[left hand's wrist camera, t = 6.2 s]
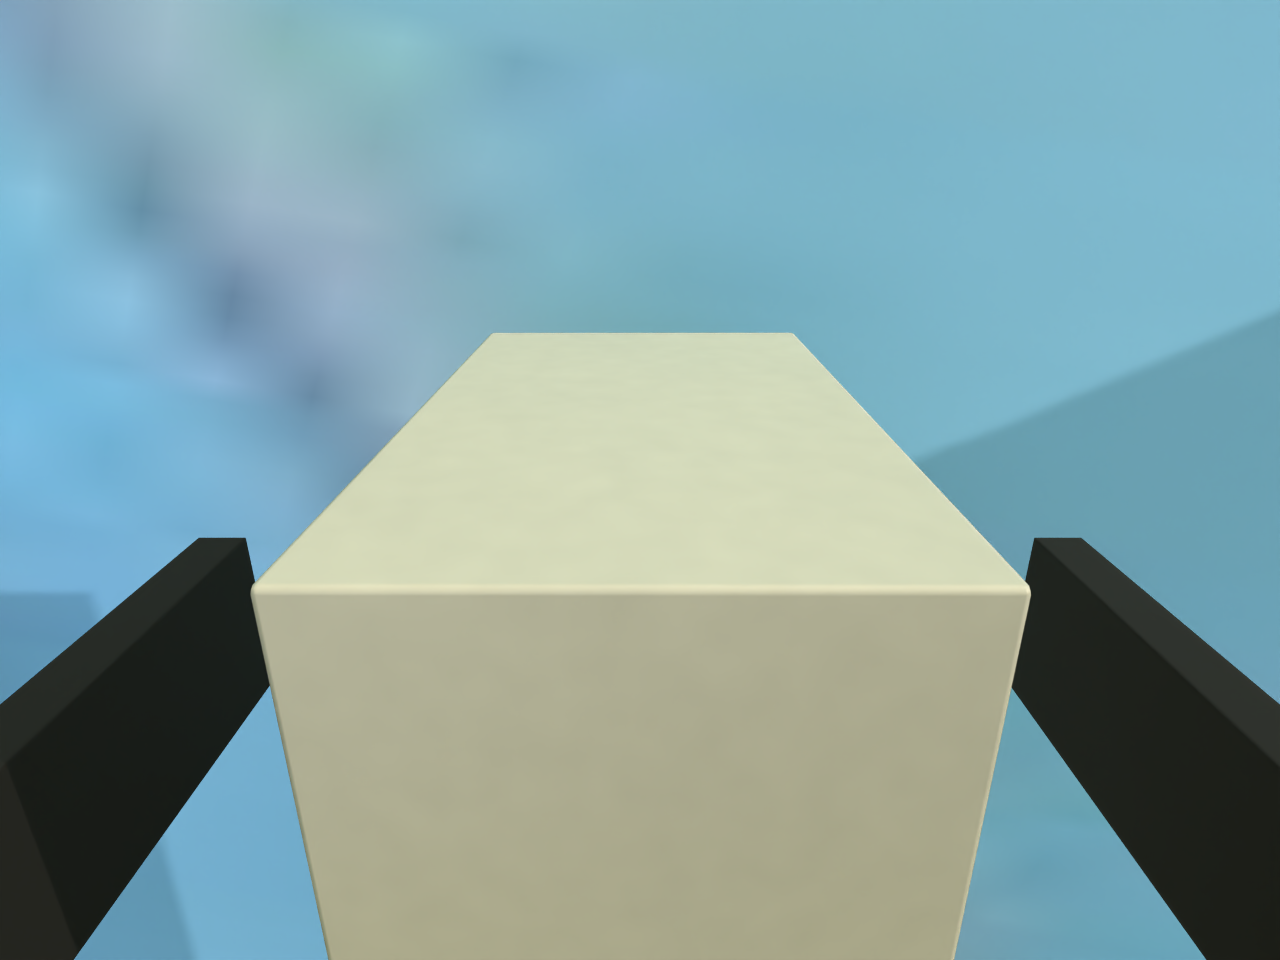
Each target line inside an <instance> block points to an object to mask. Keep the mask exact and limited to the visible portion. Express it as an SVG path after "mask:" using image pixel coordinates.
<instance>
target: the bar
mask: <svg viewBox="0 0 1280 960" xmlns="http://www.w3.org/2000/svg"><path fill="white" fill-rule="evenodd" d="M1030 597H1031V591H1030V588H1029V585H1028V584H1027V583H1026V582H1025V581H1024V580H1023V579H1022V578H1021V577H1020V576H1019V575H1018V573H1017V572H1016V571H1015V570H1014V569H1013V568H1012V567H1011V566H1010V565H1009V564H1008V563H1007V562H1006V561H1005V560H1004V559H1003V557H1002V556H1001V555H1000V554H999V553H998V552H997V551H996V550H995V549H994V548H993V547H992V546H991V545H990V544H989V542H988V541H987V540H986V539H985V538H984V537H983V536H982V535H981V534H980V533H979V532H978V531H977V530H976V529H975V528H974V526H973V525H972V524H971V523H970V522H969V521H968V520H967V519H966V518H965V517H964V516H963V515H962V514H961V513H960V511H959V510H958V509H957V508H956V507H955V506H954V505H953V504H952V503H951V502H950V501H949V500H948V499H947V498H946V497H945V495H944V494H943V493H942V492H941V491H940V490H939V489H938V488H937V487H936V486H935V485H934V484H933V483H932V482H931V481H930V479H929V478H928V477H927V476H926V475H925V474H924V473H923V472H922V471H921V470H920V469H919V468H918V467H917V466H916V464H915V463H914V462H913V461H912V460H911V459H910V458H909V457H908V456H907V455H906V454H905V453H904V452H903V451H902V450H901V448H900V447H899V446H898V445H897V444H896V443H895V442H894V441H893V440H892V439H891V438H890V437H889V436H888V435H887V433H886V432H885V431H884V430H883V429H882V428H881V427H880V426H879V425H878V424H877V423H876V422H875V421H874V420H873V419H872V417H871V416H870V415H869V414H868V413H867V412H866V411H865V410H864V409H863V408H862V407H861V406H860V405H859V404H858V403H857V401H856V400H855V399H854V398H853V397H852V396H851V395H850V394H849V393H848V392H847V391H846V390H845V389H844V388H843V386H842V385H841V384H840V383H839V382H838V381H837V380H836V379H835V378H834V377H833V376H832V375H831V374H830V373H829V372H828V370H827V369H826V368H825V367H824V366H823V365H822V364H821V363H820V362H819V361H818V360H817V359H816V358H815V357H814V355H813V354H812V353H811V352H810V351H809V350H808V349H807V348H806V347H805V346H804V345H803V344H802V343H801V342H800V341H799V339H798V338H797V337H796V336H795V335H794V334H792V333H493V334H491V335H490V336H489V337H488V338H487V339H486V340H485V341H484V342H483V343H482V344H481V345H480V346H479V347H478V348H477V349H476V350H475V352H474V353H473V354H472V355H471V356H470V357H469V358H468V359H467V360H466V361H465V362H464V363H463V364H462V365H461V366H460V367H459V368H458V369H457V370H456V372H455V373H454V374H453V375H452V376H451V377H450V378H449V379H448V380H447V381H446V382H445V383H444V384H443V385H442V386H441V387H440V388H439V389H438V390H437V391H436V393H435V394H434V395H433V396H432V397H431V398H430V399H429V400H428V401H427V402H426V403H425V404H424V405H423V406H422V407H421V408H420V409H419V410H418V411H417V413H416V414H415V415H414V416H413V417H412V418H411V419H410V420H409V421H408V422H407V423H406V424H405V425H404V426H403V427H402V428H401V429H400V430H399V431H398V433H397V434H396V435H395V436H394V437H393V438H392V439H391V440H390V441H389V442H388V443H387V444H386V445H385V446H384V447H383V448H382V449H381V450H380V451H379V453H378V454H377V455H376V456H375V457H374V458H373V459H372V460H371V461H370V462H369V463H368V464H367V465H366V466H365V467H364V468H363V469H362V470H361V471H360V472H359V474H358V475H357V476H356V477H355V478H354V479H353V480H352V481H351V482H350V483H349V484H348V485H347V486H346V487H345V488H344V489H343V490H342V491H341V492H340V494H339V495H338V496H337V497H336V498H335V499H334V500H333V501H332V502H331V503H330V504H329V505H328V506H327V507H326V508H325V509H324V510H323V511H322V512H321V514H320V515H319V516H318V517H317V518H316V519H315V520H314V521H313V522H312V523H311V524H310V525H309V526H308V527H307V528H306V529H305V530H304V531H303V532H302V534H301V535H300V536H299V537H298V538H297V539H296V540H295V541H294V542H293V543H292V544H291V545H290V546H289V547H288V548H287V549H286V550H285V551H284V552H283V553H282V555H281V556H280V557H279V558H278V559H277V560H276V561H275V562H274V563H273V564H272V565H271V566H270V567H269V568H268V569H267V570H266V571H265V572H264V573H263V575H262V576H261V577H260V578H259V579H258V580H257V581H256V582H255V583H254V584H253V585H252V588H251V599H252V604H253V608H254V613H255V618H256V622H257V627H258V632H259V636H260V641H261V646H262V650H263V655H264V660H265V665H266V669H267V674H268V679H269V683H270V688H271V693H272V697H273V702H274V707H275V711H276V716H277V721H278V725H279V730H280V735H281V739H282V744H283V749H284V754H285V758H286V763H287V768H288V772H289V777H290V782H291V786H292V791H293V796H294V800H295V805H296V810H297V814H298V819H299V824H300V828H301V833H302V838H303V843H304V847H305V852H306V857H307V861H308V866H309V871H310V875H311V880H312V885H313V889H314V894H315V899H316V903H317V908H318V913H319V917H320V922H321V927H322V932H323V936H324V941H325V946H326V950H327V955H328V960H954V957H955V952H956V947H957V943H958V938H959V933H960V928H961V924H962V919H963V914H964V910H965V905H966V900H967V895H968V891H969V886H970V881H971V876H972V872H973V867H974V862H975V857H976V853H977V848H978V843H979V838H980V834H981V829H982V824H983V820H984V815H985V810H986V805H987V801H988V796H989V791H990V786H991V782H992V777H993V772H994V767H995V763H996V758H997V753H998V749H999V744H1000V739H1001V734H1002V730H1003V725H1004V720H1005V715H1006V711H1007V706H1008V701H1009V696H1010V692H1011V687H1012V682H1013V677H1014V673H1015V668H1016V663H1017V659H1018V654H1019V649H1020V644H1021V640H1022V635H1023V630H1024V625H1025V621H1026V616H1027V611H1028V606H1029V602H1030Z"/></svg>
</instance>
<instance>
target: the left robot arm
mask: <svg viewBox="0 0 1280 960" xmlns="http://www.w3.org/2000/svg"><path fill="white" fill-rule="evenodd" d="M1025 582H1026V583H1027V584H1028V585H1029V588H1030V591H1031V597H1030V602H1029V606H1028V611H1027V616H1026V621H1025V625H1024V630H1023V635H1022V640H1021V644H1020V649H1019V654H1018V659H1017V663H1016V668H1015V673H1014V677H1013V682H1012V689H1013V690H1014V691H1015V693H1016V694H1017V696H1018V697H1019V698H1020V700H1021V701H1022V703H1023V704H1024V705H1025V707H1026V708H1027V710H1028V711H1029V712H1030V714H1031V715H1032V717H1033V718H1034V719H1035V721H1036V722H1037V724H1038V725H1039V726H1040V728H1041V729H1042V731H1043V732H1044V733H1045V735H1046V736H1047V738H1048V739H1049V740H1050V742H1051V743H1052V745H1053V746H1054V747H1055V749H1056V750H1057V752H1058V753H1059V754H1060V756H1061V757H1062V758H1063V760H1064V761H1065V763H1066V764H1067V765H1068V767H1069V768H1070V770H1071V771H1072V772H1073V774H1074V775H1075V777H1076V778H1077V779H1078V781H1079V782H1080V784H1081V785H1082V786H1083V788H1084V789H1085V791H1086V792H1087V793H1088V795H1089V796H1090V798H1091V799H1092V800H1093V802H1094V803H1095V805H1096V806H1097V807H1098V809H1099V810H1100V812H1101V813H1102V814H1103V816H1104V817H1105V819H1106V820H1107V821H1108V823H1109V824H1110V826H1111V827H1112V828H1113V830H1114V831H1115V833H1116V834H1117V835H1118V837H1119V838H1120V840H1121V841H1122V842H1123V844H1124V845H1125V847H1126V848H1127V849H1128V851H1129V852H1130V854H1131V855H1132V856H1133V858H1134V859H1135V861H1136V862H1137V863H1138V865H1139V866H1140V868H1141V869H1142V870H1143V872H1144V873H1145V875H1146V876H1147V877H1148V879H1149V880H1150V882H1151V883H1152V884H1153V886H1154V887H1155V889H1156V890H1157V891H1158V893H1159V894H1160V896H1161V897H1162V898H1163V900H1164V901H1165V903H1166V904H1167V905H1168V907H1169V908H1170V909H1171V911H1172V912H1173V914H1174V915H1175V916H1176V918H1177V919H1178V921H1179V922H1180V923H1181V925H1182V926H1183V928H1184V929H1185V930H1186V932H1187V933H1188V935H1189V936H1190V937H1191V939H1192V940H1193V942H1194V943H1195V944H1196V946H1197V947H1198V949H1199V950H1200V951H1201V953H1202V954H1203V956H1204V957H1205V958H1206V960H1280V704H1279V703H1277V702H1276V701H1275V700H1274V699H1273V698H1271V697H1270V696H1269V695H1268V694H1267V693H1265V692H1264V691H1263V690H1262V689H1261V688H1259V687H1258V686H1257V685H1256V684H1255V683H1254V682H1252V681H1251V680H1250V679H1249V678H1248V677H1246V676H1245V675H1244V674H1243V673H1242V672H1240V671H1239V670H1238V669H1237V668H1236V667H1234V666H1233V665H1232V664H1231V663H1230V662H1228V661H1227V660H1226V659H1225V658H1224V657H1223V656H1221V655H1220V654H1219V653H1218V652H1217V651H1215V650H1214V649H1213V648H1212V647H1211V646H1209V645H1208V644H1207V643H1206V642H1205V641H1203V640H1202V639H1201V638H1200V637H1199V636H1197V635H1196V634H1195V633H1194V632H1193V631H1192V630H1190V629H1189V628H1188V627H1187V626H1186V625H1184V624H1183V623H1182V622H1181V621H1180V620H1178V619H1177V618H1176V617H1175V616H1174V615H1172V614H1171V613H1170V612H1169V611H1168V610H1166V609H1165V608H1164V607H1163V606H1162V605H1161V604H1159V603H1158V602H1157V601H1156V600H1155V599H1153V598H1152V597H1151V596H1150V595H1149V594H1147V593H1146V592H1145V591H1144V590H1143V589H1141V588H1140V587H1139V586H1138V585H1137V584H1135V583H1134V582H1133V581H1132V580H1131V579H1130V578H1128V577H1127V576H1126V575H1125V574H1124V573H1122V572H1121V571H1120V570H1119V569H1118V568H1116V567H1115V566H1114V565H1113V564H1112V563H1110V562H1109V561H1108V560H1107V559H1106V558H1105V557H1103V556H1102V555H1101V554H1100V553H1099V552H1097V551H1096V550H1095V549H1094V548H1093V547H1091V546H1090V545H1089V544H1088V543H1087V542H1085V541H1084V540H1083V539H1082V538H1034V542H1033V547H1032V551H1031V556H1030V561H1029V566H1028V570H1027V575H1026V580H1025ZM254 583H255V580H254V575H253V570H252V565H251V561H250V556H249V551H248V547H247V542H246V538H198V539H197V540H196V541H195V542H193V543H192V544H191V545H190V546H189V547H187V548H186V549H185V550H184V551H183V552H181V553H180V554H179V555H178V556H177V557H176V558H174V559H173V560H172V561H171V562H170V563H168V564H167V565H166V566H165V567H164V568H162V569H161V570H160V571H159V572H158V573H156V574H155V575H154V576H153V577H152V578H150V579H149V580H148V581H147V582H146V583H145V584H143V585H142V586H141V587H140V588H139V589H137V590H136V591H135V592H134V593H133V594H131V595H130V596H129V597H128V598H127V599H125V600H124V601H123V602H122V603H121V604H120V605H118V606H117V607H116V608H115V609H114V610H112V611H111V612H110V613H109V614H108V615H106V616H105V617H104V618H103V619H102V620H100V621H99V622H98V623H97V624H96V625H94V626H93V627H92V628H91V629H90V630H89V631H87V632H86V633H85V634H84V635H83V636H81V637H80V638H79V639H78V640H77V641H75V642H74V643H73V644H72V645H71V646H69V647H68V648H67V649H66V650H65V651H63V652H62V653H61V654H60V655H59V656H58V657H56V658H55V659H54V660H53V661H52V662H50V663H49V664H48V665H47V666H46V667H44V668H43V669H42V670H41V671H40V672H38V673H37V674H36V675H35V676H34V677H32V678H31V679H30V680H29V681H28V682H27V683H25V684H24V685H23V686H22V687H21V688H19V689H18V690H17V691H16V692H15V693H13V694H12V695H11V696H10V697H9V698H7V699H6V700H5V701H4V702H3V703H2V704H0V960H74V958H75V957H76V956H77V954H78V953H79V951H80V950H81V949H82V947H83V946H84V944H85V943H86V942H87V940H88V939H89V937H90V936H91V935H92V933H93V932H94V931H95V929H96V928H97V926H98V925H99V924H100V922H101V921H102V919H103V918H104V917H105V915H106V914H107V912H108V911H109V910H110V908H111V907H112V905H113V904H114V903H115V901H116V900H117V898H118V897H119V896H120V894H121V893H122V891H123V890H124V889H125V887H126V886H127V884H128V883H129V882H130V880H131V879H132V877H133V876H134V875H135V873H136V872H137V870H138V869H139V868H140V866H141V865H142V863H143V862H144V861H145V859H146V858H147V856H148V855H149V854H150V852H151V851H152V849H153V848H154V847H155V845H156V844H157V842H158V841H159V840H160V838H161V837H162V835H163V834H164V833H165V831H166V830H167V828H168V827H169V826H170V824H171V823H172V821H173V820H174V819H175V817H176V816H177V814H178V813H179V812H180V810H181V809H182V807H183V806H184V805H185V803H186V802H187V800H188V799H189V798H190V796H191V795H192V793H193V792H194V791H195V789H196V788H197V787H198V785H199V784H200V782H201V781H202V780H203V778H204V777H205V775H206V774H207V773H208V771H209V770H210V768H211V767H212V766H213V764H214V763H215V761H216V760H217V759H218V757H219V756H220V754H221V753H222V752H223V750H224V749H225V747H226V746H227V745H228V743H229V742H230V740H231V739H232V738H233V736H234V735H235V733H236V732H237V731H238V729H239V728H240V726H241V725H242V724H243V722H244V721H245V719H246V718H247V717H248V715H249V714H250V712H251V711H252V710H253V708H254V707H255V705H256V704H257V703H258V701H259V700H260V698H261V697H262V696H263V694H264V693H265V691H266V690H267V689H268V687H269V686H270V683H269V679H268V674H267V669H266V665H265V660H264V655H263V650H262V646H261V641H260V636H259V632H258V627H257V622H256V618H255V613H254V608H253V604H252V599H251V588H252V585H253V584H254Z"/></svg>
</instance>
